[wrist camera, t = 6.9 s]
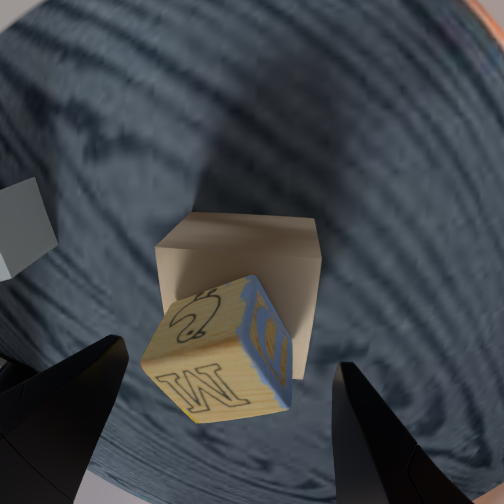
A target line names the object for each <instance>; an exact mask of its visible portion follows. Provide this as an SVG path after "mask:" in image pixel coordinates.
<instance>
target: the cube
mask: <svg viewBox="0 0 504 504" xmlns="http://www.w3.org/2000/svg"><path fill="white" fill-rule="evenodd" d="M57 245H59V244H58V242H57V239H56V237H55V234H54V231H53V229H52V226H51V223H50V221H49V218H48V215H47V212H46V210H45V207H44V204H43V201H42V198H41V195H40V191H39V188H38V185H37V182H36V178H35V177H32V178H30V179H27V180H24V181H22V182H19V183H17V184H14V185H12V186H9V187H7V188H4V189H2V190H0V281H4V280H8V279H11V278H13V277H14V276H16V275H17V274H18V273H20V272H21V271H22V270H24V269H25V268H26V267H28V266H29V265H30V264H32V263H33V262H35V261H36V260H37V259H39V258H40V257H42V256H43V255H44V254H46V253H47V252H49V251H50V250H52V249H53V248H55V247H56V246H57Z"/></svg>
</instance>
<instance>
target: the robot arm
mask: <svg viewBox="0 0 504 504" xmlns="http://www.w3.org/2000/svg"><path fill="white" fill-rule="evenodd" d="M128 361H129V355H128V352H127V349H126V345H125V342H124V339H123V338H122V337H121V336H117V335H113V334H111V335H108V336H106V337H104V338H103V339H101V340H99V341H97V342H95V343H94V344H92V345H90V346H88V347H86V348H84V349H83V350H81V351H79V352H77V353H75V354H74V355H72V356H70V357H68V358H66V359H64V360H63V361H61V362H59V363H57V364H55V365H53V366H52V367H50V368H48V369H46V370H44V371H43V372H41V373H39V374H37V373H36V372H35V371H34V370H33V369H31V368H28V367H26V366H24V365H22V364H20V363H18V362H16V361H14V360H12V359H10V358H8V357H6V356H4V355H2V354H0V365H1V369H0V504H73V503H74V502H73V501H74V499H75V497H76V494H77V491H78V489H79V486H80V484H81V481H82V478H83V476H84V473H85V471H86V468H87V466H88V464H89V461H90V459H91V456H92V454H93V451H94V449H95V447H96V444H97V442H98V440H99V437H100V435H101V433H102V430H103V428H104V426H105V423H106V421H107V419H108V417H109V414H110V412H111V410H112V408H113V405H114V403H115V401H116V398H117V395H118V392H119V389H120V386H121V383H122V380H123V377H124V374H125V371H126V368H127V365H128ZM332 445H333V456H334V469H335V482H336V497H337V504H474V503H473V502H472V501H471V500H470V499H469V498H468V497H467V496H466V495H465V494H464V493H462V492H461V491H460V490H459V489H458V488H457V487H456V486H455V485H454V484H453V483H452V482H451V481H450V480H449V479H448V478H447V477H446V476H445V475H444V474H443V473H442V471H441V470H440V469H439V468H438V467H437V466H436V465H435V464H434V463H433V461H432V460H431V459H430V458H429V457H428V455H427V454H426V453H425V452H424V450H423V449H422V448H421V447H420V445H417V442H416V440H415V439H414V438H413V437H412V435H411V434H410V433H409V432H408V430H407V429H406V428H405V426H404V425H403V424H402V423H401V421H400V420H399V419H398V418H397V416H396V415H395V414H394V412H393V411H392V410H391V409H390V407H389V406H388V405H387V404H386V402H385V401H384V400H383V399H382V397H381V396H380V395H379V394H378V392H377V391H376V390H375V389H374V387H373V386H372V385H371V384H370V382H369V381H368V380H367V378H366V377H365V376H364V375H363V373H362V372H361V371H360V370H359V368H358V367H357V366H356V365H355V364H354V363H353V362H339V364H338V366H337V369H336V373H335V376H334V380H333V386H332Z"/></svg>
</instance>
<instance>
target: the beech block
mask: <svg viewBox="0 0 504 504" xmlns="http://www.w3.org/2000/svg"><path fill="white" fill-rule="evenodd" d="M155 252H156V260H157V268H158V275H159V283H160V289H161V296H162V303H163V309H164V315H165V314H166V312H167V310H168V309H169V307H170V305H171V304H172V303H173V302H176V301H179V300H182V299H184V298H188V297H191V296H193V295H196V294H199V293H202V292H204V291H207V290H210V289H213V288H216V287H219V286H221V285H224V284H227V283H229V282H232V281H235V280H238V279H240V278H243V277H246V276H249V275H255V276H256V277H257V278H258V280H259V281H260V283H261V285H262V287H263V289H264V291H265V292H266V294H267V296H268V298H269V300H270V301H271V303H272V305H273V307H274V308H275V310H276V312H277V314H278V316H279V318H280V319H281V321H282V323H283V325H284V326H285V328H286V330H287V331H288V333H289V335H290V337H291V339H292V343H293V376H292V379H303V375H304V370H305V365H306V359H307V354H308V348H309V342H310V336H311V330H312V324H313V318H314V312H315V305H316V298H317V291H318V284H319V277H320V269H321V262H322V257H321V251H320V246H319V241H318V235H317V230H316V225H315V220H314V218H301V217H286V216H270V215H252V214H233V213H211V212H191V213H190V214H189V215H187V216H186V217H185V218H184V219H183V220H182V221H181V222H180V223H179V224H178V225H177V226H176V227H175V228H174V229H173V230H172V231H171V232H170V233H169V234H168V235H167V236H166V237H165V238H164V239H163V240H162V241H161V242H160V243H159V244H158V245H157V246H155Z"/></svg>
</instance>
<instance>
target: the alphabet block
mask: <svg viewBox="0 0 504 504" xmlns="http://www.w3.org/2000/svg"><path fill="white" fill-rule="evenodd" d="M141 366H142V368H143V370H144V371H145V373H146V374H147V375H148V376H149V377H150V378H151V379H152V380H153V381H154V382H155V383H156V384H157V385H158V387H160V388H161V389H162V390H163V391H164V392H165V393H166V394H167V395H168V396H169V397H170V398H171V399H172V400H173V401H174V402H175V403H176V404H177V406H179V407H180V408H181V409H182V410H183V411H184V412H185V413H186V414H187V415H188V416H189V417H190V418H191V419H192V420H193V421H194V422H196V423H209V422H216V421H224V420H232V419H239V418H245V417H252V416H258V415H264V414H269V413H274V412H280V411H286V410H289V409H290V407H291V400H292V376H293V343H292V339H291V337H290V335H289V333H288V331H287V330H286V328H285V326H284V325H283V323H282V321H281V319H280V318H279V316H278V314H277V312H276V310H275V308H274V307H273V305H272V303H271V301H270V300H269V298H268V296H267V294H266V292H265V291H264V289H263V287H262V285H261V283H260V281H259V280H258V278H257V277H256V276H255V275H249V276H246V277H243V278H240V279H238V280H235V281H232V282H229V283H227V284H224V285H221V286H219V287H216V288H213V289H210V290H207V291H204V292H202V293H199V294H196V295H193V296H191V297H188V298H184V299H182V300H179V301H176V302H173V303H172V304H171V305H170V307H169V309H168V310H167V312H166V314H165V316H164V317H163V319H162V321H161V323H160V325H159V326H158V329H157V330H156V332H155V334H154V336H153V338H152V340H151V341H150V343H149V345H148V347H147V349H146V350H145V353H144V354H143V356H142V358H141Z"/></svg>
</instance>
